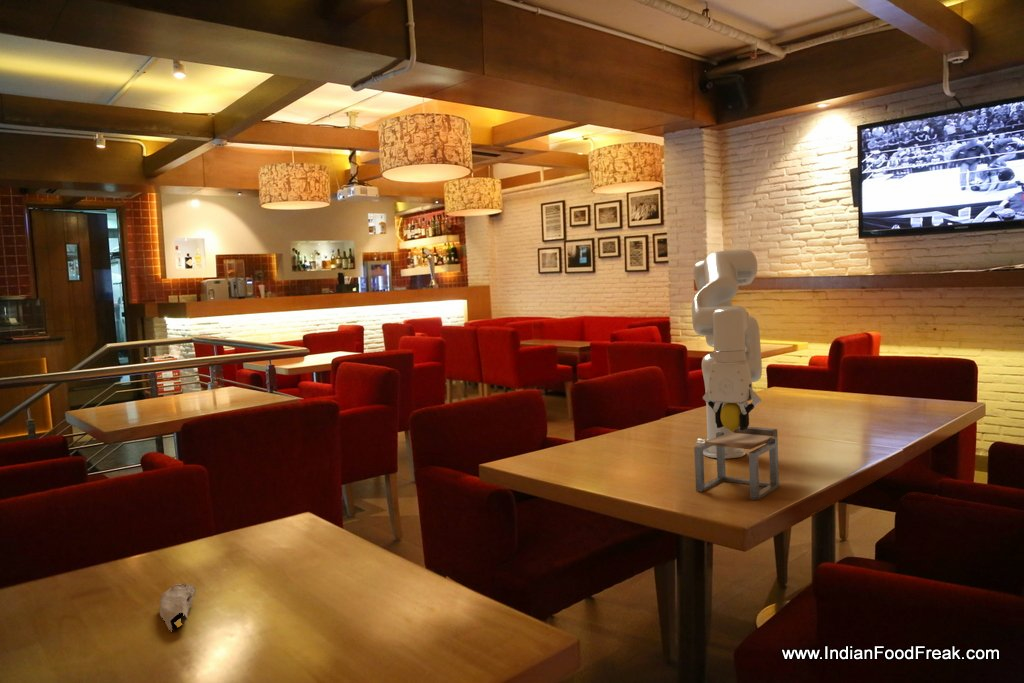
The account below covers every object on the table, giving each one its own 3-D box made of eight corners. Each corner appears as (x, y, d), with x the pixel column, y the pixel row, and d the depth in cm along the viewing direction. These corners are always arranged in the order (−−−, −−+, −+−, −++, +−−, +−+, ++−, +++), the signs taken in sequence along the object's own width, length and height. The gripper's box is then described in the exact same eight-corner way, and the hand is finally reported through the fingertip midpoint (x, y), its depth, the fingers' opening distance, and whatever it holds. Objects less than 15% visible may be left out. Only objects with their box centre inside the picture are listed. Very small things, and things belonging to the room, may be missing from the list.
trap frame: (696, 491, 186) (694, 442, 185) (720, 478, 197) (718, 432, 196) (756, 500, 176) (755, 448, 175) (779, 486, 186) (777, 437, 185)
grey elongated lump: (159, 608, 133) (157, 583, 132) (197, 601, 135) (195, 577, 135) (152, 640, 120) (149, 613, 120) (194, 632, 122) (191, 605, 122)
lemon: (744, 434, 181) (743, 402, 180) (721, 434, 182) (720, 402, 181) (742, 429, 186) (741, 398, 185) (720, 430, 187) (718, 399, 187)
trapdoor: (704, 450, 185) (704, 436, 185) (736, 438, 199) (735, 425, 199) (750, 455, 177) (750, 440, 177) (779, 442, 192) (779, 429, 191)
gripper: (691, 358, 185) (694, 428, 187) (757, 359, 174) (759, 434, 175) (704, 354, 191) (707, 422, 192) (769, 356, 180) (771, 428, 181)
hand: (732, 427), depth 184 cm, fingers closed on lemon, 5 cm apart
